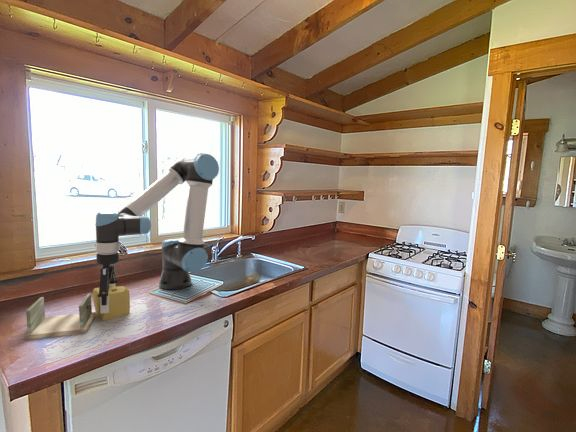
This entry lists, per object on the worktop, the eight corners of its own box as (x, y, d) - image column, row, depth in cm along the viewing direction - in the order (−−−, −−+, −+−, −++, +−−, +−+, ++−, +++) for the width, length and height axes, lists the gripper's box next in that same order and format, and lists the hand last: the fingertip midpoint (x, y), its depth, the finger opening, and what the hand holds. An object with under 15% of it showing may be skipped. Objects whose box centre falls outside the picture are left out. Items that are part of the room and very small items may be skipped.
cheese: (121, 305, 136) (120, 282, 135) (131, 314, 129) (130, 289, 127) (93, 312, 129) (92, 288, 127) (102, 322, 121) (101, 296, 120)
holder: (95, 315, 126) (94, 292, 125) (86, 332, 113) (84, 306, 111) (40, 321, 120) (38, 296, 119) (23, 339, 107) (21, 312, 106)
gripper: (103, 245, 136) (104, 295, 138) (88, 261, 112) (89, 320, 114) (123, 245, 138) (123, 293, 140) (112, 260, 115) (113, 318, 117)
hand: (108, 305), depth 127 cm, fingers open, 13 cm apart
